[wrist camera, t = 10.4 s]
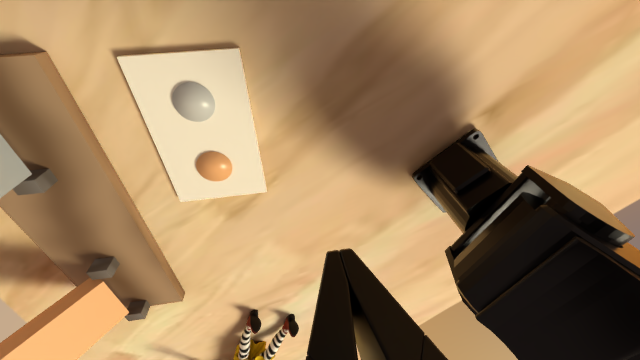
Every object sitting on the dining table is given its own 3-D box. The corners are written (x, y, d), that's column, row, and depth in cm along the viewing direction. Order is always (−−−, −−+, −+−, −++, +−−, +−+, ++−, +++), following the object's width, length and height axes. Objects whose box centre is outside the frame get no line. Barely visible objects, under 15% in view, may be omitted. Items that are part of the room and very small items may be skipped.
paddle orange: (103, 281, 23) (-92, 429, 16) (129, 312, 26) (-24, 450, 18) (93, 274, 24) (-98, 414, 16) (120, 305, 27) (-32, 436, 19)
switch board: (46, 51, 15) (14, 60, 14) (184, 292, 29) (178, 313, 27) (-112, 62, 15) (-171, 73, 13) (106, 303, 29) (94, 326, 27)
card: (239, 47, 17) (238, 49, 16) (266, 189, 23) (266, 193, 23) (119, 55, 16) (115, 57, 16) (182, 198, 22) (180, 203, 22)
